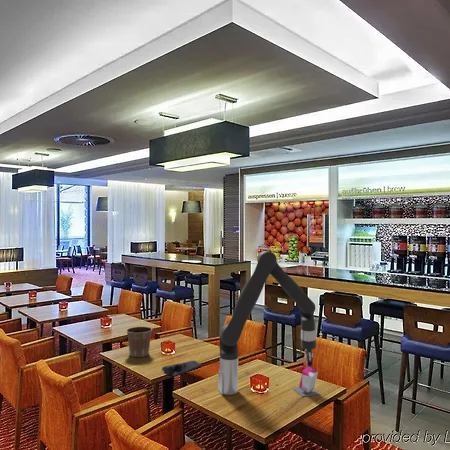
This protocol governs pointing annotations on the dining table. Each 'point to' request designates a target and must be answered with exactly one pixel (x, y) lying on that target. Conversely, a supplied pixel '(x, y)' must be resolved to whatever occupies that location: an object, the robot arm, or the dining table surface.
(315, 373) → the supplement box
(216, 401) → the dining table surface
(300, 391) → the mat
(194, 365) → the dark slate chunk
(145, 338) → the plant pot
